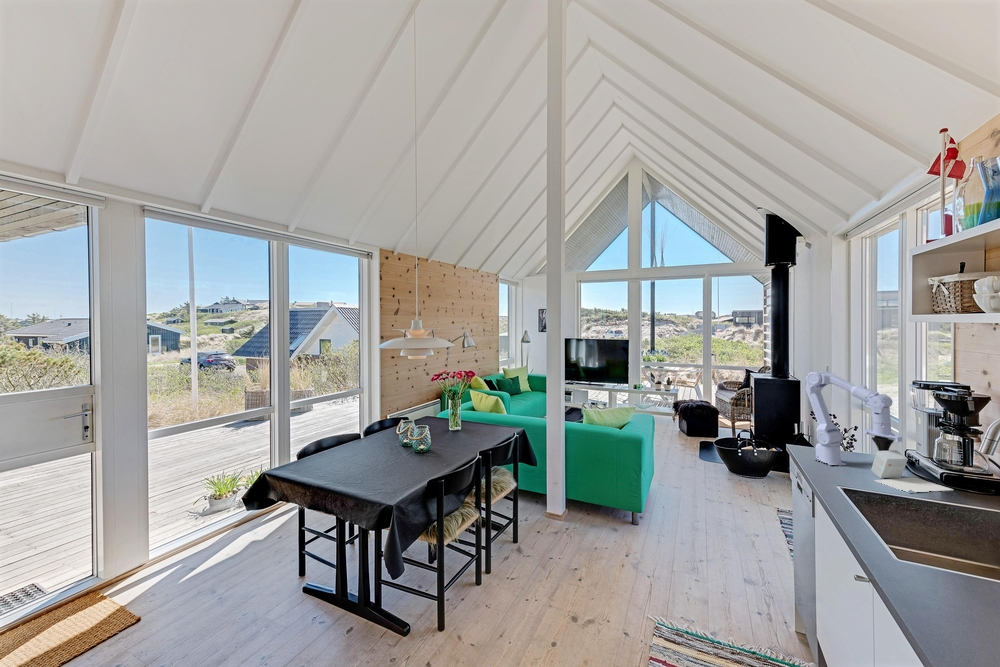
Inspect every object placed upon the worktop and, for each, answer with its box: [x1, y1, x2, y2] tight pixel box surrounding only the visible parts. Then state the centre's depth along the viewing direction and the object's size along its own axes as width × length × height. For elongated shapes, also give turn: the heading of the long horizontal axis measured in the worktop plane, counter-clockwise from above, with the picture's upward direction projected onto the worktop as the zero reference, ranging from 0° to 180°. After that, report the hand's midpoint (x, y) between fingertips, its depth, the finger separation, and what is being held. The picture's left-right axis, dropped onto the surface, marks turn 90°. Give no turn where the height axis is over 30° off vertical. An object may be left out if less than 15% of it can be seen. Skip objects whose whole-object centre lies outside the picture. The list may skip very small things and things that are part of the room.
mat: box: [873, 477, 954, 493], centre depth 162 cm, size 14×18×1 cm
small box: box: [870, 449, 909, 480], centre depth 171 cm, size 8×6×10 cm
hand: (883, 454), depth 174 cm, fingers closed
